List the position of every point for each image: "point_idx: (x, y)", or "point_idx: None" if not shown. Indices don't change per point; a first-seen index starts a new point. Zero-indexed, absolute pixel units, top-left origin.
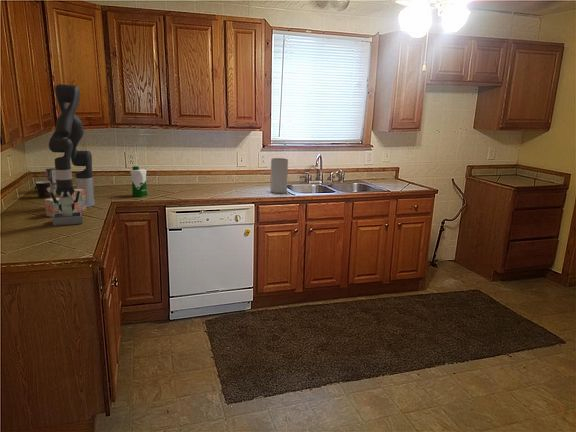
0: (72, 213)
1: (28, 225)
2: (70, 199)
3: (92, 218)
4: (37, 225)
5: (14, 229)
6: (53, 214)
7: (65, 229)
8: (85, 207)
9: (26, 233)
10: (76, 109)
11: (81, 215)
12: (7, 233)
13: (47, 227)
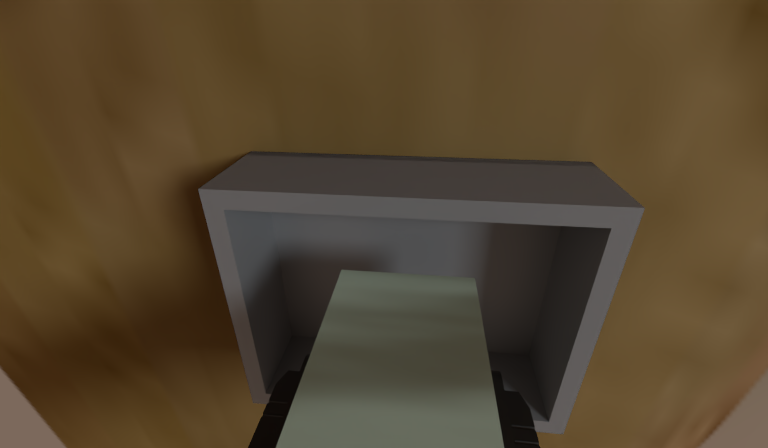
0: (484, 215)
1: (60, 242)
2: None
3: (735, 173)
4: (141, 269)
5: (17, 321)
6: (218, 239)
7: None
8: None
9: (152, 428)
10: None
11: (569, 403)
12: (33, 390)
13: None
